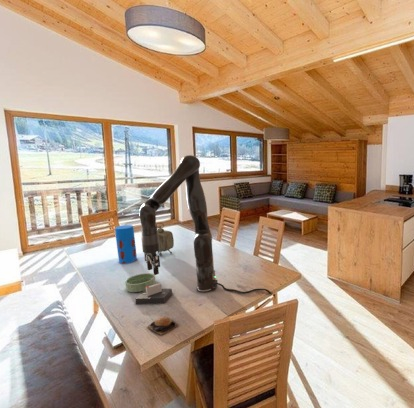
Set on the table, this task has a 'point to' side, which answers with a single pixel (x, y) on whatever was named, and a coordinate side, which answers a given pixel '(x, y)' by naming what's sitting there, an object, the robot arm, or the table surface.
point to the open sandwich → (162, 325)
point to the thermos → (125, 244)
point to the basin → (140, 282)
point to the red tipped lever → (153, 289)
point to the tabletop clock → (165, 240)
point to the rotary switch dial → (154, 297)
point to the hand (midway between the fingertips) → (153, 271)
